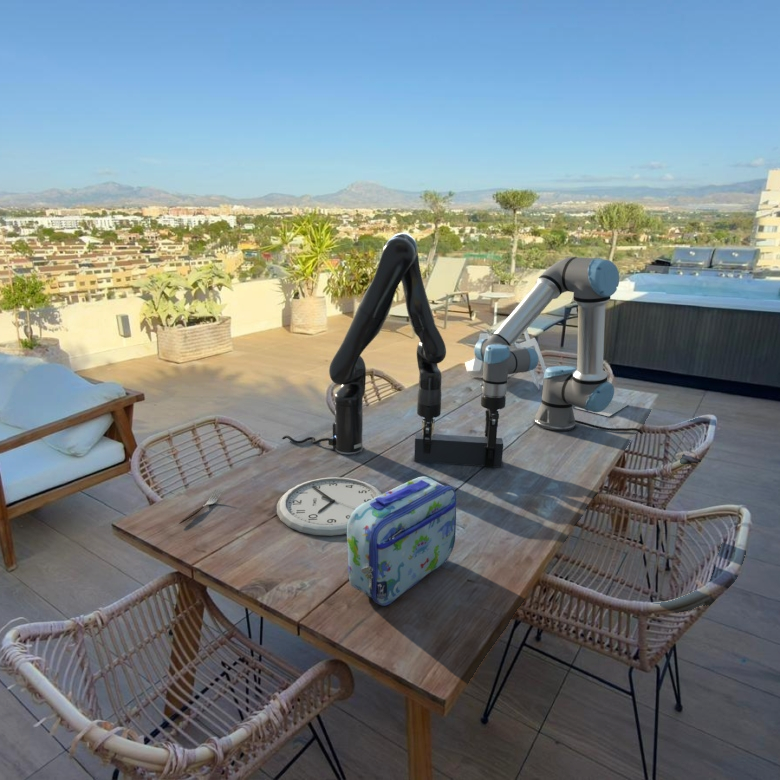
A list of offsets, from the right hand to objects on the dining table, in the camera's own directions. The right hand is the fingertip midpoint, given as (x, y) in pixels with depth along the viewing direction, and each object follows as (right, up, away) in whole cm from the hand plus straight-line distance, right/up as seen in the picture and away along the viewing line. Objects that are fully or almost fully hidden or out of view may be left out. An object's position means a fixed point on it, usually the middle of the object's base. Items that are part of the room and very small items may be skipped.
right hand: (488, 461), depth 170 cm
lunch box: (-29, -18, -56) cm, 66 cm away
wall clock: (-48, -8, -27) cm, 56 cm away
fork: (-82, -9, -31) cm, 89 cm away
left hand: (-20, +4, +1) cm, 20 cm away
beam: (-10, 0, +1) cm, 10 cm away
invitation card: (+59, +16, +56) cm, 83 cm away
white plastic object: (+24, +26, +88) cm, 95 cm away
